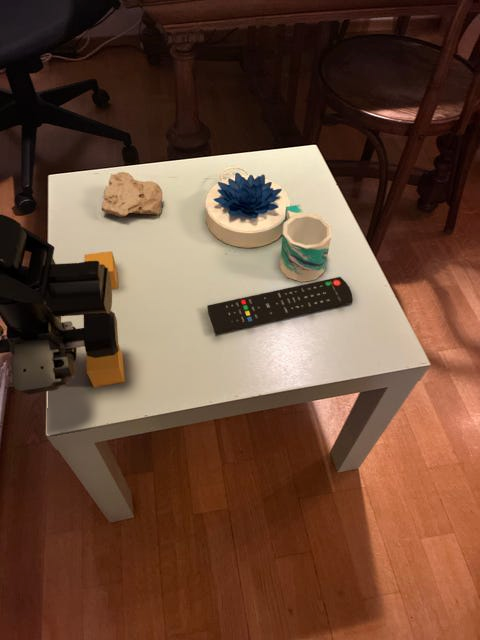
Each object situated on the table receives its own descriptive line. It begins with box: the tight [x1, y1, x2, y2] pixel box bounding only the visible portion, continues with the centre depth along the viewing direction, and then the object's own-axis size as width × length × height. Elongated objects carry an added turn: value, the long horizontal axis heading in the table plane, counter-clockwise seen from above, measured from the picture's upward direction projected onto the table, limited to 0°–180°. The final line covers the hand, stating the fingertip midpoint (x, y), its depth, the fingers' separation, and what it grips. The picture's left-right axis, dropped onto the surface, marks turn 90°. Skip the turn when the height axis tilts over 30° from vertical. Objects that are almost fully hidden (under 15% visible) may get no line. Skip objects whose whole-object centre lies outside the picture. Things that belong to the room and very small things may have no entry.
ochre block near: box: [85, 343, 125, 388], centre depth 71 cm, size 4×4×4 cm
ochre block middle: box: [84, 250, 119, 290], centre depth 81 cm, size 4×4×4 cm
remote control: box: [206, 276, 354, 335], centre depth 80 cm, size 5×24×1 cm, turn 106°
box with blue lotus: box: [204, 166, 291, 249], centre depth 91 cm, size 7×16×20 cm
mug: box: [279, 204, 332, 283], centre depth 84 cm, size 8×12×8 cm
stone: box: [101, 171, 163, 218], centre depth 91 cm, size 9×11×5 cm
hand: (62, 372), depth 71 cm, fingers closed
